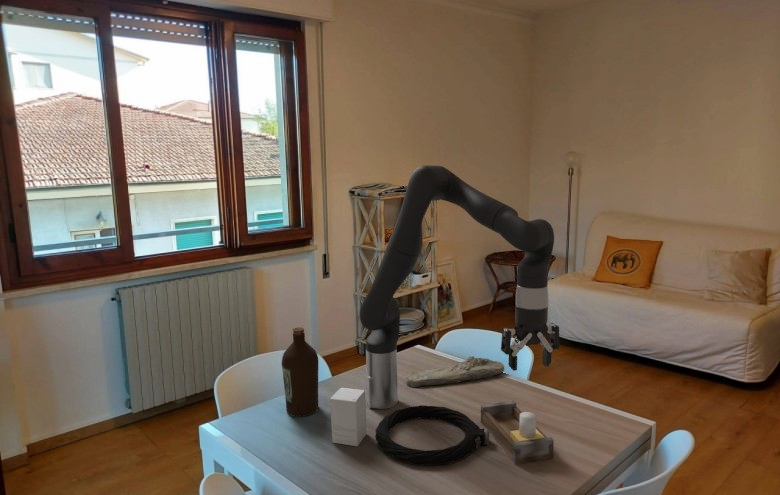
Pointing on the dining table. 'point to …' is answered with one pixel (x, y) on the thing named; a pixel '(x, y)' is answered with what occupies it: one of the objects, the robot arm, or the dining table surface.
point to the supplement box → (348, 416)
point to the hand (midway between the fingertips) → (529, 367)
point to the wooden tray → (507, 419)
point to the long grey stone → (456, 372)
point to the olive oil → (300, 376)
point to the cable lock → (430, 457)
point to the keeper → (526, 428)
